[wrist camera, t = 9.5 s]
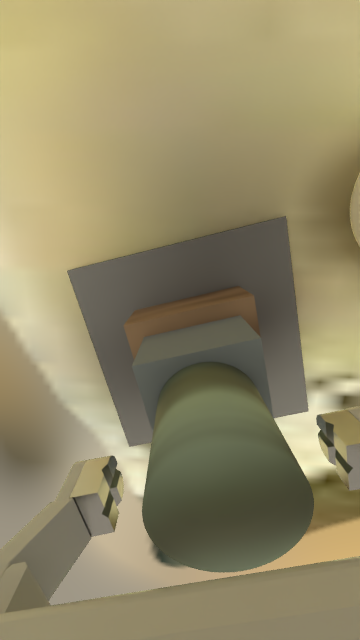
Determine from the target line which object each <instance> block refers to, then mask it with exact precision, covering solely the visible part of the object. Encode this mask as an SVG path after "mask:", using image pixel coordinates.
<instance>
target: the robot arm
mask: <svg viewBox="0 0 360 640" xmlns="http://www.w3.org/2000/svg"><path fill="white" fill-rule="evenodd" d="M316 419H317V425H318V426H319V428H320V429H321V430H320V432H319V433H318V438H319V443H320V446H321V449H322V451H323V453H324V455H325V456H326V458H327V459H328V461H329V462H330V463H332V464H334V465H336V469H337V474H338V475H339V477H340V478H341V479H342V481H343V482H344V484H345V485H346V486H347V488H348V489H349V490H356V489H360V407H359V406H357V407H353V408H348V409H345V410H340V411H335V412H330V413H325V414H320V415H317V418H316ZM116 466H117V461H116V459H115V457H114V456H107V457H101V458H95V459H89V460H85V461H79V462H76V463H75V464H74V465H73V466H72V468H71V470H70V472H69V474H68V476H67V478H66V480H65V482H64V484H63V486H62V488H61V490H60V492H59V494H58V496H57V498H56V500H55V501H54V502H50V503H49V504H48V505H47V506H46V507H45V508H44V509H43V510H42V511H41V512H40V513H39V514H38V515H37V516H35V517H34V518H33V519H32V520H31V521H30V522H29V523H28V524H27V525H26V526H25V527H24V528H23V529H22V530H21V531H19V533H17V534H16V535H15V536H14V537H13V538H12V539H11V540H10V541H9V542H8V543H7V544H6V545H5V546H4V547H3V548H1V549H0V640H360V556H359V557H352V558H345V559H340V560H333V561H327V562H321V563H314V564H309V565H302V566H296V567H290V568H284V569H277V570H271V571H265V572H259V573H253V574H246V575H240V576H234V577H227V578H221V579H215V580H208V581H202V582H196V583H189V584H184V585H177V586H170V587H164V588H158V589H151V590H146V591H139V592H133V593H127V594H120V595H114V596H108V597H101V598H95V599H89V600H83V601H76V602H71V603H64V604H58V605H50V603H49V600H50V598H51V597H52V595H53V594H54V592H55V591H56V589H57V588H58V586H59V585H60V583H61V582H62V581H63V579H64V577H65V576H66V575H67V573H68V572H69V570H70V569H71V567H72V566H73V564H74V563H75V562H76V560H77V559H78V557H79V556H80V554H81V553H82V551H83V550H84V548H85V547H86V545H87V544H88V542H89V541H90V539H91V537H93V536H97V535H102V534H107V533H112V532H114V531H115V527H116V523H117V519H118V514H119V511H118V509H117V506H118V504H119V503H120V502H121V501H122V497H123V492H124V483H123V477H122V474H121V472H120V471H118V470H117V469H116Z"/></svg>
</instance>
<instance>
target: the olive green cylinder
mask: <svg viewBox="0 0 360 640" xmlns="http://www.w3.org/2000/svg"><path fill="white" fill-rule="evenodd" d="M313 509H314V498H313V494H312V489H311V487H310V484H309V482H308V480H307V478H306V476H305V475H304V473H303V471H302V469H301V467H300V466H299V464H298V462H297V460H296V458H295V457H294V455H293V453H292V451H291V449H290V448H289V446H288V444H287V442H286V440H285V439H284V437H283V435H282V433H281V431H280V430H279V428H278V426H277V424H276V422H275V420H274V419H273V417H272V415H271V413H270V411H269V410H268V408H267V406H266V404H265V402H264V401H263V399H262V397H261V395H260V393H259V392H258V390H257V388H256V386H255V385H254V383H253V381H252V380H251V379H250V378H249V377H248V376H247V375H246V374H245V373H244V372H242V371H241V370H239V369H237V368H235V367H233V366H231V365H228V364H225V363H220V362H201V363H196V364H192V365H190V366H187V367H185V368H183V369H181V370H179V371H178V372H177V373H175V374H174V375H173V376H172V377H171V378H170V379H169V380H168V381H167V382H166V383H165V385H164V386H163V388H162V390H161V392H160V395H159V398H158V403H157V410H156V417H155V423H154V430H153V437H152V444H151V450H150V457H149V464H148V471H147V478H146V484H145V491H144V498H143V506H142V516H143V522H144V526H145V529H146V531H147V533H148V535H149V537H150V538H151V540H152V541H153V543H154V544H155V545H156V546H157V547H158V548H159V549H160V550H161V551H162V552H163V553H164V554H166V555H167V556H169V557H170V558H172V559H173V560H175V561H177V562H179V563H181V564H183V565H186V566H189V567H191V568H195V569H199V570H203V571H210V572H237V571H244V570H248V569H253V568H256V567H259V566H262V565H265V564H267V563H270V562H272V561H274V560H276V559H277V558H279V557H281V556H282V555H284V554H285V553H287V552H288V551H289V550H290V549H291V548H293V547H294V546H295V545H296V544H297V543H298V542H299V541H300V539H301V538H302V537H303V535H304V534H305V532H306V531H307V529H308V527H309V525H310V522H311V519H312V516H313Z"/></svg>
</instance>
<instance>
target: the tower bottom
mask: <svg viewBox="0 0 360 640" xmlns="http://www.w3.org/2000/svg"><path fill="white" fill-rule="evenodd" d="M239 315H240V316H241V317H242V318H243V319H244V320H245V321H246V322H247V323H248V324H249V325H250V326H251V327H252V329H253V330H254V331H255V332H256V333H257V334H258V335H259V336H260V330H259V324H258V318H257V311H256V305H255V299H254V295H252V294H251V293H249V292H248V291H246V290H244V289H243V288H241V287H239V286H236V287H232V288H228V289H224V290H219V291H215V292H211V293H207V294H202V295H198V296H194V297H189V298H185V299H181V300H177V301H172V302H168V303H164V304H160V305H155V306H151V307H147V308H143V309H138V310H135V311H134V312H133V314H132V315H131V316H130V318H129V319H128V320H127V322H126V323H125V324H124V325H123V326H124V329H125V332H126V336H127V339H128V342H129V345H130V348H131V351H132V355H133V358H134V360H135V357H136V355H137V353H138V350H139V348H140V345H141V343H142V341H143V338H144V337H147V336H151V335H155V334H160V333H164V332H169V331H173V330H177V329H182V328H186V327H191V326H195V325H199V324H204V323H208V322H213V321H217V320H221V319H226V318H230V317H235V316H239ZM260 337H261V336H260Z"/></svg>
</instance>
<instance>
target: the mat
mask: <svg viewBox="0 0 360 640" xmlns="http://www.w3.org/2000/svg"><path fill="white" fill-rule="evenodd" d="M67 272H68V275H69V278H70V281H71V284H72V286H73V289H74V292H75V295H76V298H77V300H78V303H79V306H80V309H81V312H82V315H83V317H84V320H85V323H86V326H87V329H88V331H89V334H90V337H91V340H92V343H93V345H94V348H95V351H96V354H97V357H98V360H99V362H100V365H101V368H102V371H103V374H104V376H105V379H106V382H107V385H108V388H109V391H110V393H111V396H112V399H113V402H114V405H115V407H116V410H117V413H118V416H119V419H120V421H121V424H122V427H123V430H124V433H125V436H126V438H127V441H128V444H129V447H131V446H136V445H141V444H146V443H151V442H152V437H153V431H152V428H151V425H150V422H149V419H148V416H147V413H146V409H145V406H144V403H143V400H142V397H141V394H140V391H139V387H138V384H137V381H136V378H135V375H134V372H133V369H132V364H133V362H134V358H133V355H132V351H131V348H130V345H129V342H128V339H127V336H126V332H125V329H124V326H123V325H124V324H125V323H126V322H127V320H128V319H129V318H130V316H131V315H132V314H133V312H134V311H135V310H138V309H143V308H147V307H151V306H155V305H160V304H164V303H168V302H172V301H177V300H181V299H185V298H189V297H194V296H198V295H202V294H207V293H211V292H215V291H219V290H224V289H228V288H232V287H236V286H239V287H241V288H243V289H244V290H246V291H248V292H249V293H251V294H252V295H254V299H255V305H256V311H257V318H258V324H259V330H260V336H261V341H262V347H263V353H264V360H265V366H266V372H267V378H268V385H269V391H270V397H271V403H272V410H273V416H274V418H277V417H282V416H287V415H292V414H297V413H302V412H307V411H308V403H307V394H306V385H305V377H304V368H303V359H302V350H301V342H300V333H299V324H298V316H297V307H296V298H295V290H294V281H293V272H292V263H291V255H290V246H289V237H288V229H287V220H286V216H284V217H280V218H276V219H272V220H268V221H264V222H260V223H256V224H252V225H248V226H244V227H240V228H236V229H232V230H228V231H224V232H220V233H216V234H212V235H208V236H204V237H200V238H196V239H192V240H188V241H184V242H180V243H176V244H172V245H168V246H164V247H160V248H156V249H152V250H148V251H144V252H140V253H136V254H132V255H128V256H124V257H120V258H116V259H112V260H108V261H104V262H100V263H96V264H92V265H88V266H84V267H80V268H76V269H72V270H68V271H67Z"/></svg>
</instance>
